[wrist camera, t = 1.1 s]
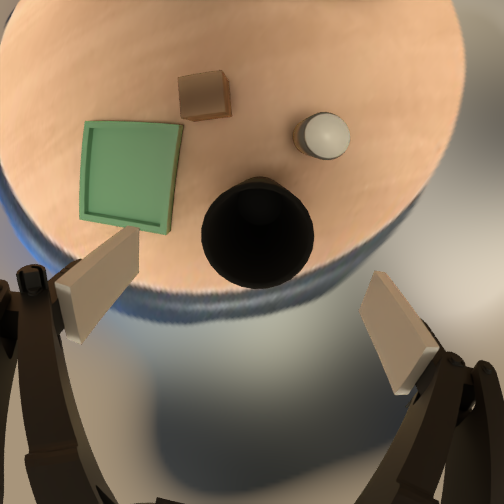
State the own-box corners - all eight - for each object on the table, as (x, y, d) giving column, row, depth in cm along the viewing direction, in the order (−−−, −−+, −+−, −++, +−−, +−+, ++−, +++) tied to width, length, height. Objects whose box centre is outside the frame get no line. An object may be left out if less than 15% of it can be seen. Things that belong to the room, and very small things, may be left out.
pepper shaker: (296, 115, 26) (308, 105, 19) (333, 124, 27) (356, 118, 19) (289, 151, 28) (298, 154, 21) (326, 159, 28) (346, 166, 21)
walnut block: (191, 86, 26) (177, 77, 21) (228, 81, 25) (221, 70, 21) (194, 121, 27) (180, 118, 22) (231, 116, 27) (225, 111, 22)
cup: (259, 249, 32) (256, 308, 21) (210, 202, 30) (178, 239, 19) (310, 203, 30) (336, 240, 19) (260, 152, 28) (257, 157, 17)
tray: (92, 121, 27) (84, 121, 25) (183, 125, 27) (179, 124, 26) (86, 215, 31) (79, 219, 30) (170, 230, 32) (166, 235, 30)
